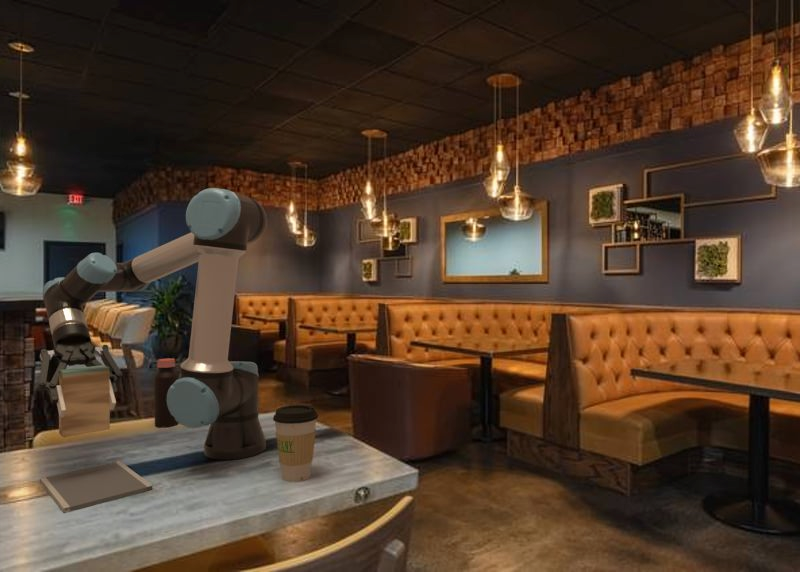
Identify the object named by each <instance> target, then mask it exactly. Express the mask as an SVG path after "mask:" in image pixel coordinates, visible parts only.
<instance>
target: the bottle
mask: <svg viewBox="0 0 800 572" xmlns="http://www.w3.org/2000/svg"><path fill="white" fill-rule="evenodd" d="M175 368H176V359H175V358H173V357H172V358H168V357H167V358H159V359H157V369H158V372H157V373H156V374H155V375H154V381H153V383H154V385H153V386H154V389H153V390H154V426H155V427H157V428H171V427H174V426H177V425H178V424H179V423H178V422H177V421H176V420H175V418H174V416H172V415H171V413H170V411H169V409H168V406H167V393H168V390H169V388H170V387H171V385H173V383H174V382H175V381H176V380H178V379H179V374H178V373H177V372H176V371H175Z"/></svg>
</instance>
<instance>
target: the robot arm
mask: <svg viewBox="0 0 800 572" xmlns="http://www.w3.org/2000/svg"><path fill="white" fill-rule="evenodd" d="M185 223H186V225H187V227H188V228H189V231H190V232H189V233H186V234H185V235H183V236H179V237H178V238H176V239H173V240H171V241H169V242H167V243H164V244H163V245H160V246H158V247H156V248H154V249H151V250H149V251H146V252H145V253H143V254H140V255H137V256H136V257H134V258H131V259H130V260H127V261H125V262H115V261H114V260H112V258H110V257H109V256H107V255H105V254H103V253H101V252H92V253H90V254H88V255H87V256H85V258H83V259H82V260H80V261H79V262H78V263H77V265H76V266H75V267H74V268H73V269H72V270H71V271H70V272H69V273H68V274H67V275H66V276H65V277H64V276H63V277H56V278H54V279H52V280H49V281H47V282H46V283H45V284H44V285H43V289H42V294H43V303H44V307H45V310H46V315H47V318H48V323H49V327H50V328H49V329H50V334H51V338H52V343H53V349H52V350H47V349H46V348H42V349H41V350H40V354H39V358H38V359H39V360H40V361H39V362H40V363H41V367H40V372H39V381H38V385H37V391H38V392H44V391H45V392H47V394H48V395H49V399H50V403H51V404H56V406H57V411H58V418H59V417H60V418H63V417H64V415H65V411H66V408H65V403H64V399H63V394H62V389H61V385H59V370H62V369H67V367H73V366H76V365H77V366H83V365H84V367H92V366H103V365H105V366H107V367H109V390H110V392H109V399H110V411H114V409H115V407H116V405H117V401H116V397H115V396H117V395H116V394H117V393H118V387H117V383H119V382H121V380H122V377H123V372H122V370H121V369H120V367H119V366H118V364H117V363H116V361H115V359H114V358H113V356H112V354H111V353H110V352H109V345H107V344H103V345H102V346H95V345H94V344H93V342H92V338H91V335H90V334H91V333H90V331H89V327H88V322H87V319H86V316H85V313H84V308H83V307H84V305H86V304H87V303H88V302H89V301H90V300H91V299H92V298H93V297H94V296H95V295H96V294H98V293H107V292H108V293H109V292H111V293H112V292H116V293H117V292H118V293H119V292H122V293H123V292H129V293H135V292H139V291H140V292H141V291H143V290H145V289H147V288H148V287H149V285H150V284H151V283H152V282H154V281H158V280H159V279H161V278H164V277H166V276H168V275H171V274H172V273H175V272H177V271H179V270H183V269H184V268H187V267H189V266H191V265H194V264H196V263H197V265H198V266H197V272H196V273H197V274H196V283H195V284H196V285H195V292H194V293H195V295H194V302H193V303H194V304H193V313H192V319H191V320H192V321H191V331H190V332H191V333H190V340H189V350H188V358H186V359H185V360H184V361H182V363H181V364H180V366H179V374H178V380H176V381H175V382H174V383H173V385H171V387H170V388H169V390H168V393H167V406H168V409H169V411H170V413H171V415H172V416H174V418H175V420H176V421H177V422H178V424H179V425H181V426H183V427H186V428H190V429H191V428H192V429H197V428H198V429H199V428H201V427H204V426H205V427H207V426H209V429H208V432H207V434H206V437H205V442H204V445H203V454H204V457H206V458H208V459H209V458H210V459H214V460H219V461H220V460H223V461H227V460H230V461H231V460H238V459H240V460H241V459H246V458H250V457H254V456H257V455H258V454H262V453H263V452H264V451H265V450H266V446H267V444H266V443H267V442H266V437H265V433H264V432H263V431H264V430H263V427H262V425H261V422H260V420H259V418H260V417H259V377H260V376H259V375H260V374H259V368H258V365H257V363H255V362H253V361H235V360H234V361H230V360H229V359H228V358H229V351H230V350H229V349H230V342H231V329H232V323H233V321H232V320H233V312H234V305H235V294H236V285H237V276H238V267H239V260H240V258H241V257H242V256H243V255H245V254H246V253H247V248H248V247H247V246H249V245H251V244H254V243H255V242H257V241H258V240H259V239H261V237H262V236H263V235H264V233H265V231H266V229H267V224H268V218H267V213H266V211H265V208H264V207H263V206H262V205H261V203H260V202H259V201H258V200H256V199H254V198H253V197H250V196H246V195H242V194H240V193H237V192H234V191H231V190H230V189H224V188H218V187H210V188H206V189H203V190H201V191H200V192H198V193H197V194H196V195H194V196H193V197H192V198H191V200H190V202H189V203H188V205H187V207H186V212H185ZM94 354H97V356H98V357H99V358H101V361H102V363H103V364H102V363H101V361H99V360H98V359H97V357H96V355H94ZM53 357H55V358H56V359H57V360H58V361H60V362H59V364H58V366H57V368H56V371H54V374H53V376H52V378H51V380H50V382H48V381H47V378H48V370H49V364H50V361H51V360H52V359H53Z"/></svg>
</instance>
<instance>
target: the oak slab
mask: <svg viewBox="0 0 800 572" xmlns="http://www.w3.org/2000/svg"><path fill="white" fill-rule="evenodd" d="M102 365H103V366H92V367H86V366H84V367H75V368H74V367H73V368H66V369H62V370H59V383H58V385H61V389H62V394H63V399H64V403H65V408H66V411H65V415H64V417H63V418H60V417H59V416H58V434H59V436H61V437H63V438H69V437H72V436H80V435H85V434H91V433H97V432H101V431H108V430H111V429H110V427H111V423H110V421H111V420H110V413H111V410H110V399H109V392H110V390H109V367H107V366H105V364H102Z"/></svg>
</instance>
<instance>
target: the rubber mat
mask: <svg viewBox="0 0 800 572" xmlns="http://www.w3.org/2000/svg"><path fill="white" fill-rule="evenodd" d="M39 483H40V484H41V486H42V487H43V488H44V489H45V491H46V492H47V493H48V494H49V496H50V497H51V498H52V499H53V501H54V502H55V503H56V505H57V506H58V507H59V509H60V510H61V511H62V512H63V514H64V513H69V512H72V511H76V510H79V509H83V508H84V509H85V508H88V507H91V506H95V505H99V504H102V503H107V502H111V501H114V500H118V499H122V498H125V497H129V496H133V495H137V494H141V493H144V492H149V491H152V490H153V484H151V483H150V482H148V481H147V480H146V479H144V478H143V477H142V476H140V475H139V474H138V473H136V472H135V471H134V470H133V469H131V468H129V467H128V466H127V465H125V464H124V462H122V461H120V460H117V461H114V462H109V463H105V464H100V465H95V466H94V465H93V466H90V467H86V468H81V469H77V470H74V471H73V470H72V471H67V472H63V473H59V474H53V475H50V476H49V475H48V476H44V477H39Z"/></svg>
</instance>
